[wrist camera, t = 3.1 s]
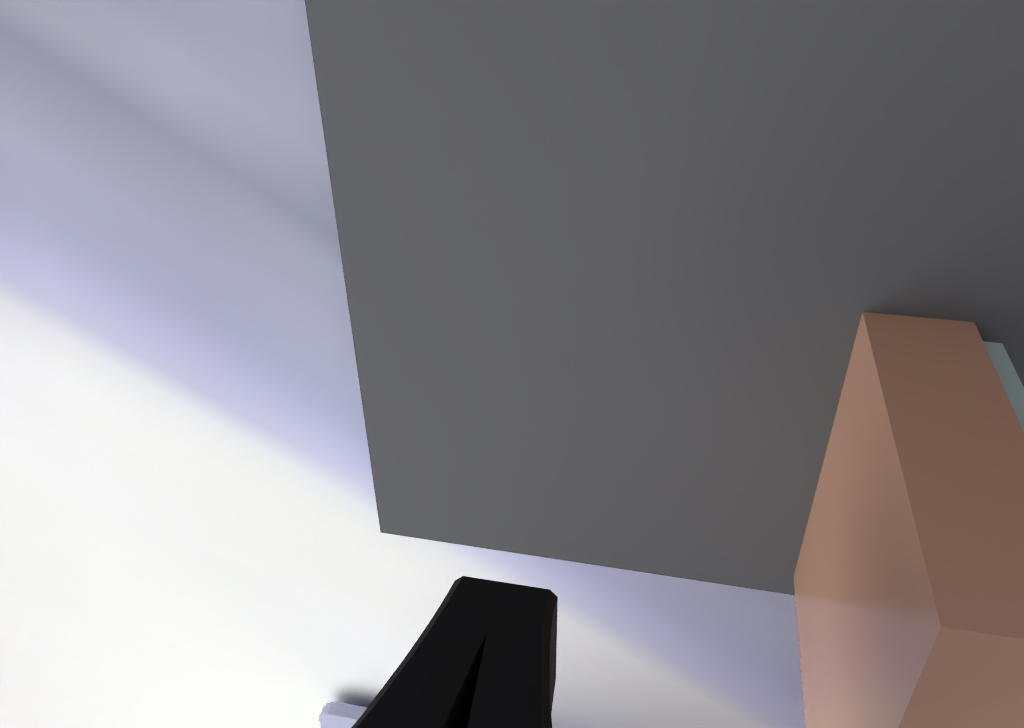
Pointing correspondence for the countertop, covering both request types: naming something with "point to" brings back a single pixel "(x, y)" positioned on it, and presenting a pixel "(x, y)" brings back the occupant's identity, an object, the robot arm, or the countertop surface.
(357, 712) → the robot arm
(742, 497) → the mat
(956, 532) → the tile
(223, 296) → the countertop surface
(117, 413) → the countertop surface
